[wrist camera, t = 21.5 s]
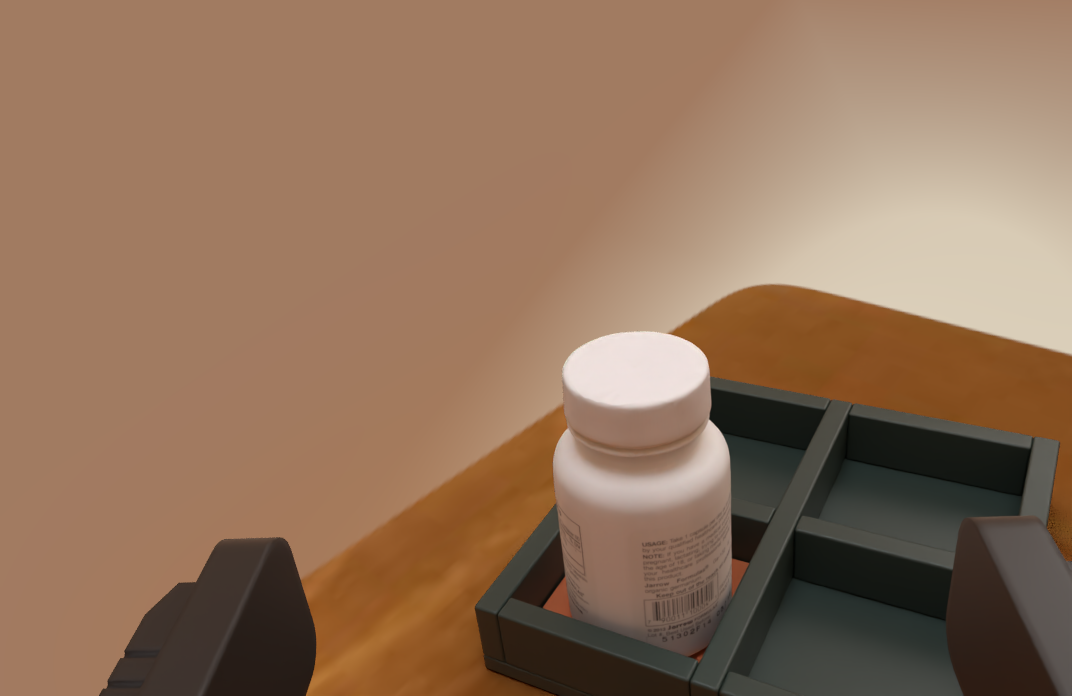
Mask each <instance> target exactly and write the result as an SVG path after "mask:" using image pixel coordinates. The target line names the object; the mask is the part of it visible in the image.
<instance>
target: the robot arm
mask: <svg viewBox="0 0 1072 696" xmlns="http://www.w3.org/2000/svg"><path fill="white" fill-rule="evenodd" d="M946 635H947V643H948V649H949V654H950V659H951V663H952V666H953V669H954V672H955V675H956V677H957V680H958V682H959V685H960V688H961V690H962V693H963V696H1072V561H1065V559H1064V557H1063V556H1062V554H1061V552H1060V550H1059V549H1058V547H1057V545H1056V543H1055V542H1054V540H1053V538H1052V537H1051V535H1050V533H1049V531H1048V530H1047V528H1046V526H1045V525H1044V523H1043V522H1042V521H1041V520H1040V519H1039V518H1038V517H1036V516H1033V515H1030V516H999V517H968V518H965V519H963V521H962V522H961V525H960V528H959V532H958V539H957V545H956V552H955V558H954V565H953V572H952V578H951V585H950V591H949V598H948V604H947V612H946ZM315 658H316V633H315V627H314V623H313V619H312V616H311V613H310V609H309V606H308V603H307V600H306V596H305V593H304V590H303V587H302V583H301V580H300V577H299V574H298V571H297V567H296V564H295V561H294V558H293V554H292V551H291V548H290V546H289V544H288V542H287V541H286V540H285V539H283V538H280V537H279V538H248V539H224V540H222V541H220V542H219V543H218V544H217V545H216V546H215V548H214V550H213V551H212V553H211V555H210V557H209V559H208V561H207V563H206V564H205V566H204V568H203V570H202V572H201V574H200V576H199V578H198V580H197V582H193V583H178V584H177V585H176V586H175V587H174V588H173V589H172V590H171V591H170V592H169V593H168V594H167V595H166V596H164V597H163V598H162V599H161V600H160V601H159V602H158V603H157V604H156V605H155V606H154V607H153V608H152V609H151V610H150V611H149V612H148V613H147V614H145V616H144V617H143V619H142V621H141V623H140V625H139V626H138V628H137V630H136V632H135V633H134V635H133V637H132V639H131V640H130V642H129V644H128V646H127V648H126V649H125V657H124V658H120V660H119V661H118V663H117V665H116V667H115V669H114V670H113V672H112V674H111V675H110V677H109V679H108V686H107V688H106V689H103V690H102V691H101V693H100V695H99V696H306V693H307V690H308V687H309V684H310V681H311V678H312V675H313V670H314V665H315Z"/></svg>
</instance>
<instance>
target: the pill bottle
mask: <svg viewBox="0 0 1072 696" xmlns="http://www.w3.org/2000/svg"><path fill="white" fill-rule="evenodd" d="M562 383H563V400H564V413H565V417H566V420H567V425H568V428H567V430H566V431H565V432H564V433H563V435H562V436H561V438H560V440H559V442H558V444H557V446H556V449H555V453H554V459H553V476H554V487H555V495H556V503H557V511H558V520H559V528H560V537H561V544H562V552H563V560H564V569H565V577H566V585H567V592H568V598H569V606H570V611H571V615H572V618H574V619H577V620H580V621H583V622H586V623H589V624H592V625H595V626H598V627H601V628H604V629H607V630H610V631H613V632H615V633H618V634H621V635H624V636H627V637H630V638H633V639H636V640H639V641H642V642H645V643H648V644H651V645H654V646H657V647H660V648H663V649H666V650H669V651H672V652H675V653H678V654H681V655H684V656H687V657H688V656H690V655H693V654H695V653H697V652H699V651H700V650H702V649H704V648H705V647H707V646H708V645H709V643H710V641H711V639H712V637H713V635H714V633H715V631H716V629H717V627H718V625H719V623H720V621H721V619H722V617H723V615H724V613H725V611H726V609H727V607H728V605H729V603H730V601H731V599H732V552H731V470H730V455H729V450H728V446H727V443H726V441H725V438H724V436H723V435H722V433H721V432H720V430H719V429H718V428H717V427H716V426H715V425H714V424H713V423H712V422H711V421H710V420H709V413H710V410H711V389H710V371H709V365H708V361H707V358H706V356H705V355H704V353H703V352H702V351H701V350H700V349H699V348H698V347H697V346H695V345H694V344H692V343H691V342H689V341H686V340H684V339H682V338H680V337H676V336H673V335H670V334H664V333H659V332H643V331H641V332H640V331H638V332H623V333H617V334H611V335H606V336H603V337H600V338H597V339H595V340H592V341H590V342H588V343H586V344H584V345H582V346H581V347H579V348H578V349H576V350H575V351H574V352H573V353H572V354H571V355H570V356H569V357H568V359H567V360H566V362H565V364H564V367H563V371H562Z"/></svg>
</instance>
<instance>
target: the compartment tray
mask: <svg viewBox="0 0 1072 696" xmlns="http://www.w3.org/2000/svg"><path fill="white" fill-rule="evenodd" d="M710 389H711V410H710V413H709V420H710V421H711V422H712V423H713V424H714V425H715V426H716V427H717V428H718V429H719V430H720V432H721V433H722V435H723V436H724V438H725V441H726V443H727V446H728V450H729V455H730V470H731V552H732V599H731V601H730V603H729V605H728V607H727V609H726V611H725V613H724V615H723V617H722V619H721V621H720V623H719V625H718V627H717V629H716V631H715V633H714V635H713V637H712V639H711V641H710V643H709V645H708V646H707V647H705V648H704V649H702V650H700V651H699V652H697V653H695V654H693V655H690V656H688V657H687V656H684V655H681V654H678V653H675V652H672V651H669V650H666V649H663V648H660V647H657V646H654V645H651V644H648V643H645V642H642V641H639V640H636V639H633V638H630V637H627V636H624V635H621V634H618V633H615V632H613V631H610V630H607V629H604V628H601V627H598V626H595V625H592V624H589V623H586V622H583V621H580V620H577V619H574V618H572V615H571V611H570V606H569V598H568V592H567V585H566V577H565V569H564V560H563V552H562V544H561V537H560V528H559V520H558V511H557V503H556V504H555V505H554V507H553V508H552V509H551V510H550V512H549V513H548V514H547V515H546V517H545V518H544V519H543V521H542V522H541V523H540V524H539V526H538V527H537V528H536V529H535V531H534V532H533V533H532V534H531V536H530V537H529V538H528V540H527V541H526V542H525V543H524V545H523V546H522V547H521V548H520V550H519V551H518V552H517V553H516V555H515V556H514V557H513V559H512V560H511V561H510V562H509V564H508V565H507V566H506V567H505V569H504V570H503V571H502V573H501V574H500V575H499V576H498V578H497V579H496V580H495V581H494V583H493V584H492V585H491V586H490V588H489V589H488V590H487V592H486V593H485V594H484V595H483V597H482V598H481V599H480V600H479V602H478V603H477V604H476V606H475V611H476V616H477V622H478V627H479V632H480V637H481V642H482V648H483V653H484V654H485V655H484V660H485V665H486V667H487V668H488V669H491V670H494V671H496V672H499V673H501V674H504V675H507V676H509V677H512V678H515V679H517V680H520V681H522V682H525V683H528V684H530V685H533V686H536V687H538V688H541V689H543V690H546V691H549V692H551V693H554V694H557V695H559V696H963V693H962V690H961V688H960V685H959V682H958V680H957V677H956V675H955V672H954V669H953V666H952V663H951V659H950V654H949V649H948V643H947V635H946V612H947V604H948V598H949V591H950V585H951V578H952V572H953V565H954V558H955V552H956V545H957V539H958V532H959V528H960V525H961V522H962V521H963V519H965V518H968V517H999V516H1030V515H1033V516H1036V517H1038V518H1039V519H1040V520H1041V521H1042V522H1043V523H1044V525H1045V526H1046V528H1047V524H1048V517H1049V511H1050V504H1051V498H1052V492H1053V485H1054V479H1055V472H1056V466H1057V460H1058V453H1059V447H1060V442H1059V441H1057V440H1051V439H1046V438H1040V437H1034V438H1033V437H1032V436H1029V435H1023V434H1018V433H1012V432H1007V431H1002V430H996V429H991V428H985V427H980V426H975V425H969V424H964V423H958V422H953V421H948V420H942V419H937V418H931V417H926V416H921V415H915V414H910V413H904V412H899V411H894V410H888V409H883V408H877V407H872V406H866V405H861V404H853V405H852V403H850V402H844V401H839V400H831V401H830V399H829V398H823V397H818V396H812V395H807V394H802V393H796V392H791V391H785V390H780V389H775V388H769V387H764V386H758V385H753V384H747V383H742V382H737V381H731V380H726V379H720V378H715V377H710Z"/></svg>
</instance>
